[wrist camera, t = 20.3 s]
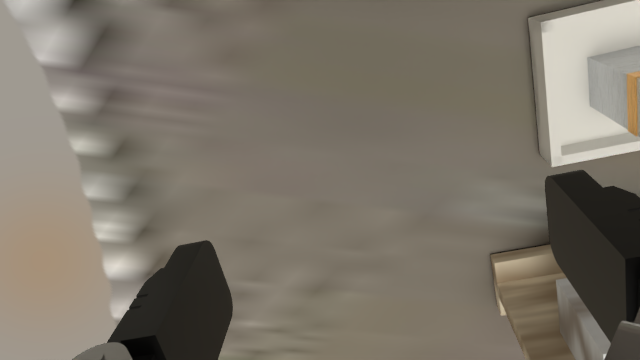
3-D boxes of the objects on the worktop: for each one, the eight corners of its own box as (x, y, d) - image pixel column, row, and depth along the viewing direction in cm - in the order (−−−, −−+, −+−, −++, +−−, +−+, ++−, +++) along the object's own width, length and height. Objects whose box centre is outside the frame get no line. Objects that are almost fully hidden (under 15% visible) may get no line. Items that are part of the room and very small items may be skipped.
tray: (528, 17, 40) (540, 22, 38) (687, -20, 39) (713, -18, 36) (539, 154, 45) (551, 167, 42) (683, 125, 43) (706, 137, 40)
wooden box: (486, 225, 48) (567, 386, 30) (671, 191, 45) (880, 344, 27) (497, 306, 51) (575, 494, 33) (670, 278, 49) (854, 464, 31)
